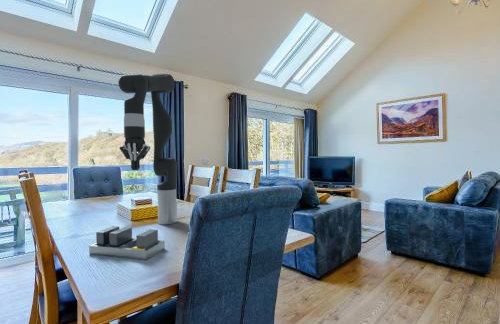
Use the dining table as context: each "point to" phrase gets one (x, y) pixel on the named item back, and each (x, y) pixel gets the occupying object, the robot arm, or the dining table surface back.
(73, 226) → the dining table surface
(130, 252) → the rack
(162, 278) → the dining table surface
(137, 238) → the grey block
